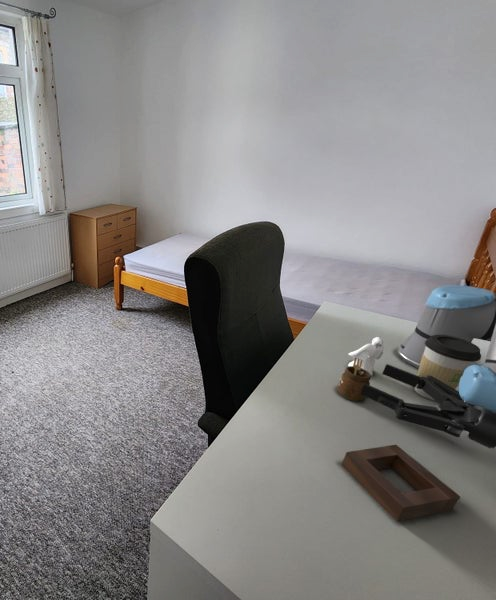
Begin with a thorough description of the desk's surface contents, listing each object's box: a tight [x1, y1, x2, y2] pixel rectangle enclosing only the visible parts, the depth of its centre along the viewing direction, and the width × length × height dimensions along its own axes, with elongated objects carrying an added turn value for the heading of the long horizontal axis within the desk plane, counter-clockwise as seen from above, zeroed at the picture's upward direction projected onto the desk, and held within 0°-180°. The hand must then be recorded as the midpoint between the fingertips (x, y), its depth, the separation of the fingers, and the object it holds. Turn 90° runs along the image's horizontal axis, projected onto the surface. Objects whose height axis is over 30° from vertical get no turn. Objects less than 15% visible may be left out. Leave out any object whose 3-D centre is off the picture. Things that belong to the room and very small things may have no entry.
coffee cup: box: [414, 335, 482, 402], centre depth 84 cm, size 10×10×15 cm
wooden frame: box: [341, 444, 461, 522], centre depth 62 cm, size 11×11×4 cm
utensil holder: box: [336, 355, 372, 402], centre depth 84 cm, size 6×6×12 cm
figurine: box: [347, 336, 385, 376], centre depth 94 cm, size 8×8×12 cm
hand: (373, 378), depth 81 cm, fingers open, 13 cm apart
